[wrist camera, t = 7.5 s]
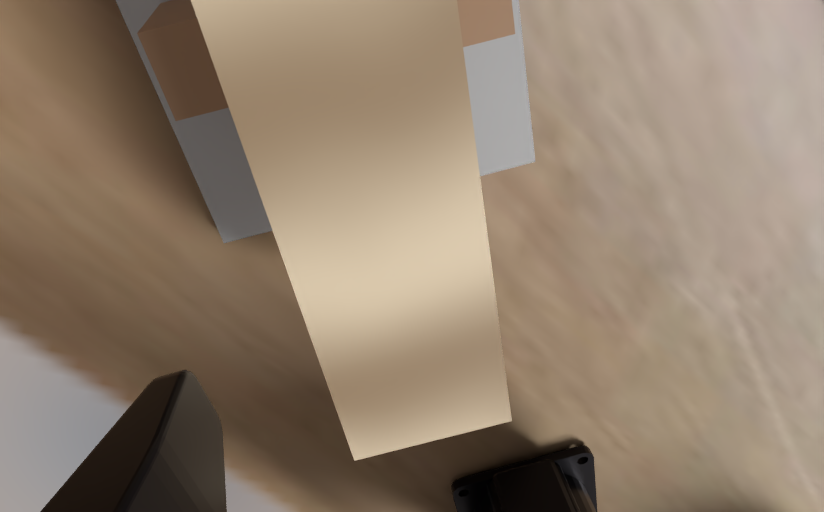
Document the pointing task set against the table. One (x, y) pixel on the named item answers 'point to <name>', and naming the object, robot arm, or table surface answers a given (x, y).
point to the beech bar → (372, 203)
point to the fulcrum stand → (216, 132)
